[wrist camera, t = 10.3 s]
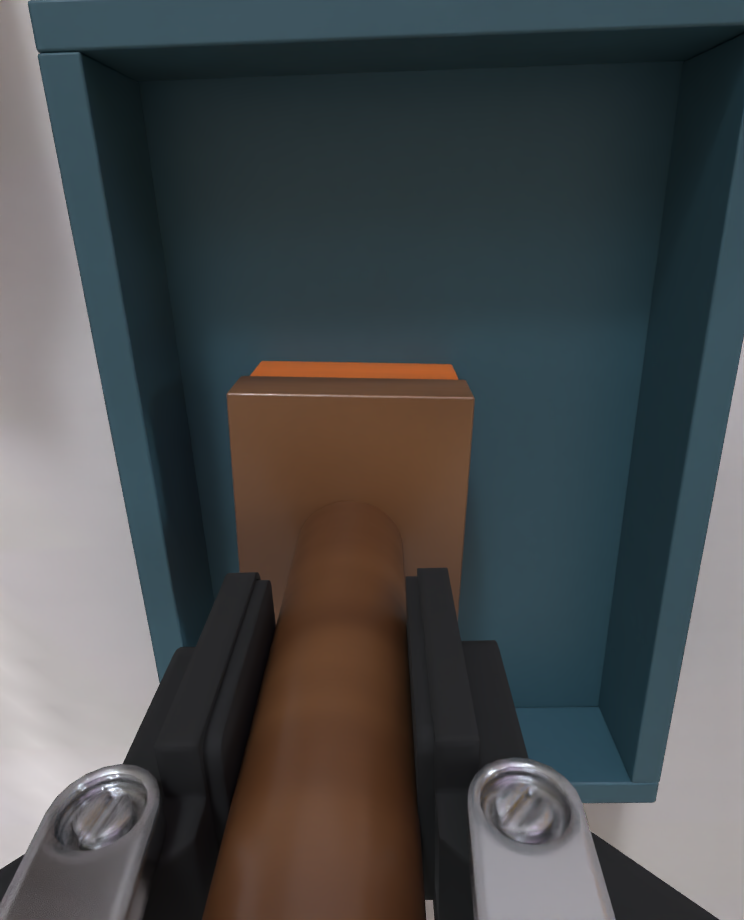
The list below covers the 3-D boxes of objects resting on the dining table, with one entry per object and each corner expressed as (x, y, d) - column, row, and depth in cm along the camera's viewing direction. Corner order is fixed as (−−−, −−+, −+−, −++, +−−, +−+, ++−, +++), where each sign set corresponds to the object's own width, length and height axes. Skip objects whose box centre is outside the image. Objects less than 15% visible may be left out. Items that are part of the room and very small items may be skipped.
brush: (256, 356, 16) (-47, 714, 5) (456, 359, 16) (642, 730, 5) (268, 592, 19) (94, 1191, 7) (441, 595, 19) (536, 1202, 7)
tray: (114, 51, 15) (25, -1, 11) (703, 28, 14) (815, -34, 11) (216, 707, 22) (183, 808, 18) (609, 701, 22) (656, 803, 18)
